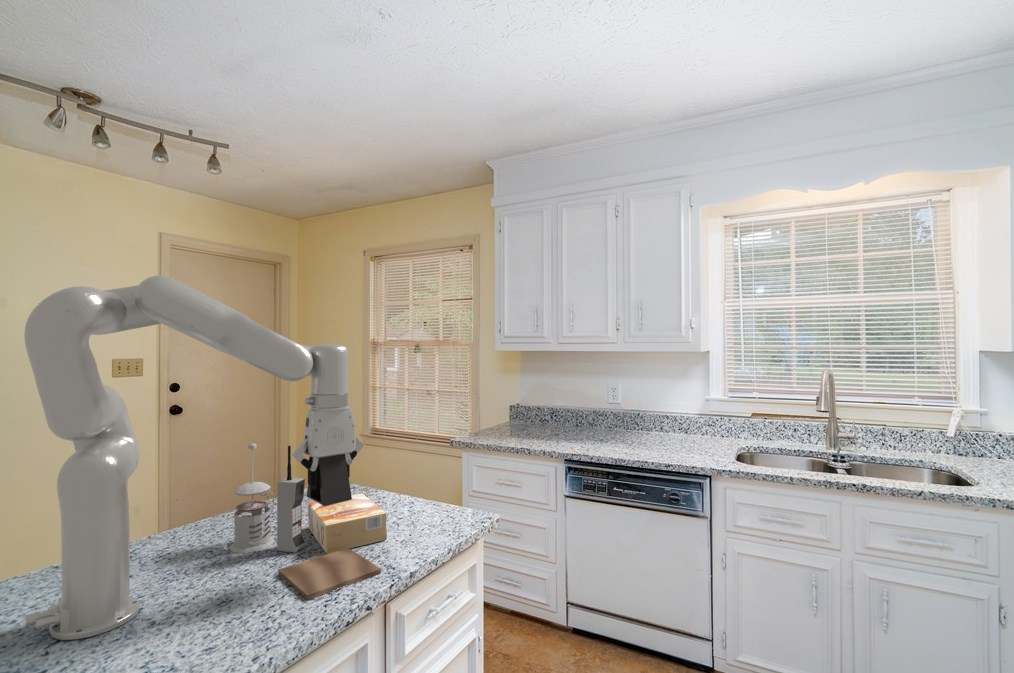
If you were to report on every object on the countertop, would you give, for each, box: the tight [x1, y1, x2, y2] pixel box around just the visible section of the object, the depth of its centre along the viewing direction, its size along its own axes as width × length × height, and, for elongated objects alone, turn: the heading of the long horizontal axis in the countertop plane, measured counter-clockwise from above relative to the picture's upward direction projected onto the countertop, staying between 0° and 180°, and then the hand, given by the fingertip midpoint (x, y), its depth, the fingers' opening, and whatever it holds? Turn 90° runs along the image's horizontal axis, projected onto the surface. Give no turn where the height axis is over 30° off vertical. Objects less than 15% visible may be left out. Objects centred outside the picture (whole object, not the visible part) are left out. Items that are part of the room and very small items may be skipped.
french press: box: [229, 442, 275, 554], centre depth 124 cm, size 10×12×25 cm
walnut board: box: [278, 548, 382, 601], centre depth 108 cm, size 16×15×1 cm
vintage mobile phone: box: [276, 445, 306, 554], centre depth 121 cm, size 4×5×25 cm
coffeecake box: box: [307, 493, 388, 555], centre depth 130 cm, size 15×7×20 cm
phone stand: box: [306, 454, 353, 506], centre depth 108 cm, size 9×6×12 cm, turn 45°
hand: (329, 484), depth 108 cm, fingers closed on phone stand, 6 cm apart
